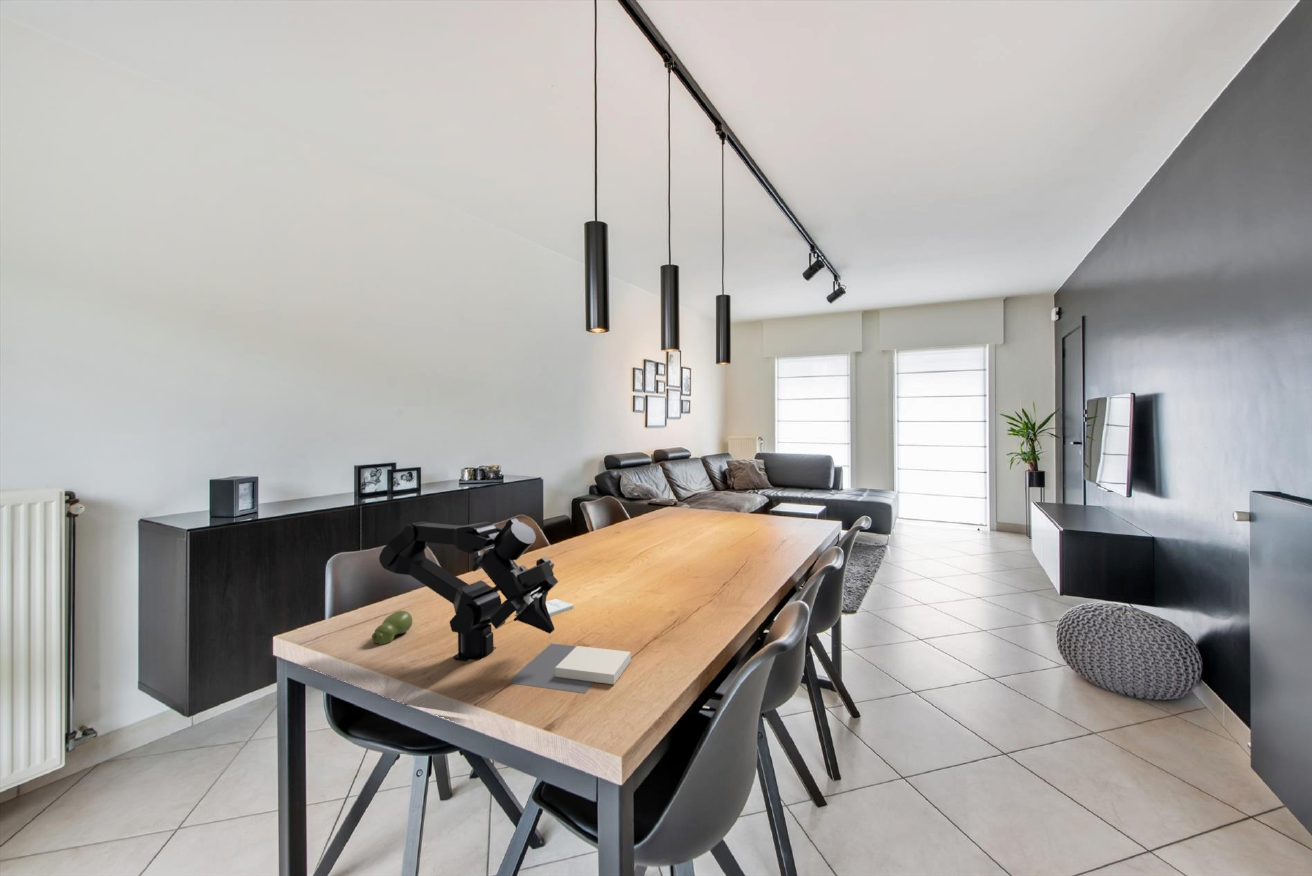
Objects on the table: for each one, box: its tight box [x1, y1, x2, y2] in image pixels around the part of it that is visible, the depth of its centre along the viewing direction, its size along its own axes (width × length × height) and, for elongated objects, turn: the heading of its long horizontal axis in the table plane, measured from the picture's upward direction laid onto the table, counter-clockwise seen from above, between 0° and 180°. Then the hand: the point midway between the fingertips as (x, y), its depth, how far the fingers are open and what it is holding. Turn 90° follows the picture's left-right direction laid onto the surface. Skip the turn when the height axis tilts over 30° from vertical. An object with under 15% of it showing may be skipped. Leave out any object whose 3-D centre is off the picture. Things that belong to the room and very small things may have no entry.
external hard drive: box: [546, 598, 574, 617], centre depth 133 cm, size 2×8×12 cm
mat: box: [506, 643, 595, 694], centre depth 100 cm, size 16×18×1 cm
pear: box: [371, 610, 413, 645], centre depth 117 cm, size 6×5×10 cm
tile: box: [555, 645, 632, 685], centre depth 99 cm, size 2×10×12 cm
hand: (552, 631), depth 101 cm, fingers closed
